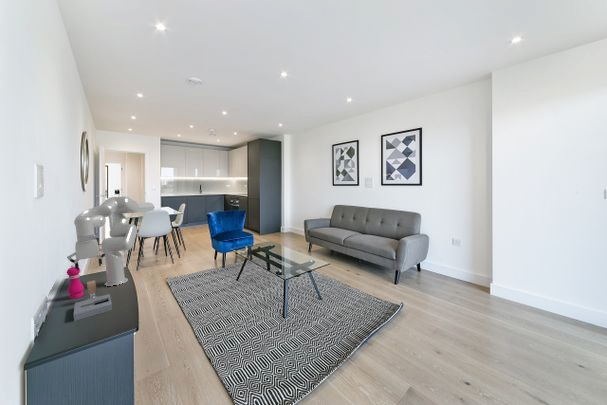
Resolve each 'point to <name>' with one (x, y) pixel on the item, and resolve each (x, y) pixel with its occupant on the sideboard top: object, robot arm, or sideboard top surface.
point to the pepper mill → (74, 283)
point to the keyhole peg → (91, 289)
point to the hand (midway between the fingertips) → (89, 267)
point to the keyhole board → (92, 307)
